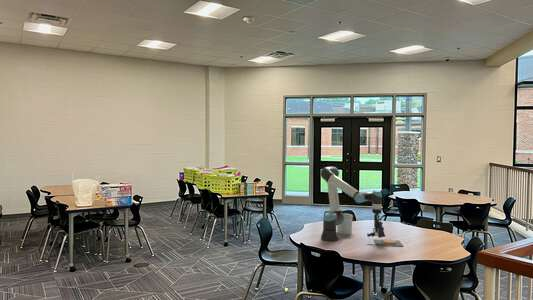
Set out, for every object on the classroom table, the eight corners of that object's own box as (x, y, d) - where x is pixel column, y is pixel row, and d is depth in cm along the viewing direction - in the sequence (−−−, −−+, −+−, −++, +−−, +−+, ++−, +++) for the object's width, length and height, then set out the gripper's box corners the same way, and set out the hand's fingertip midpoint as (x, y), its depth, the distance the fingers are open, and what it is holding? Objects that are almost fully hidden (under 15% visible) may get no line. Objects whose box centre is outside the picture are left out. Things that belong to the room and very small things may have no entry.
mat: (376, 245, 329) (376, 244, 329) (373, 240, 347) (373, 239, 347) (403, 246, 326) (403, 245, 326) (399, 241, 344) (399, 240, 344)
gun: (363, 220, 340) (380, 216, 338) (368, 239, 340) (385, 235, 338) (363, 221, 337) (381, 217, 335) (368, 239, 337) (386, 236, 335)
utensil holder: (350, 231, 381) (350, 213, 381) (354, 234, 366) (354, 216, 366) (335, 231, 381) (335, 213, 381) (338, 234, 366) (339, 216, 366)
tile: (384, 241, 332) (396, 242, 330) (382, 239, 342) (394, 239, 340) (384, 243, 332) (396, 244, 330) (382, 240, 342) (394, 241, 340)
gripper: (382, 210, 329) (382, 237, 329) (379, 207, 344) (379, 233, 345) (373, 209, 330) (373, 237, 330) (371, 206, 345) (370, 233, 346)
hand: (376, 235), depth 337 cm, fingers closed on gun, 3 cm apart
